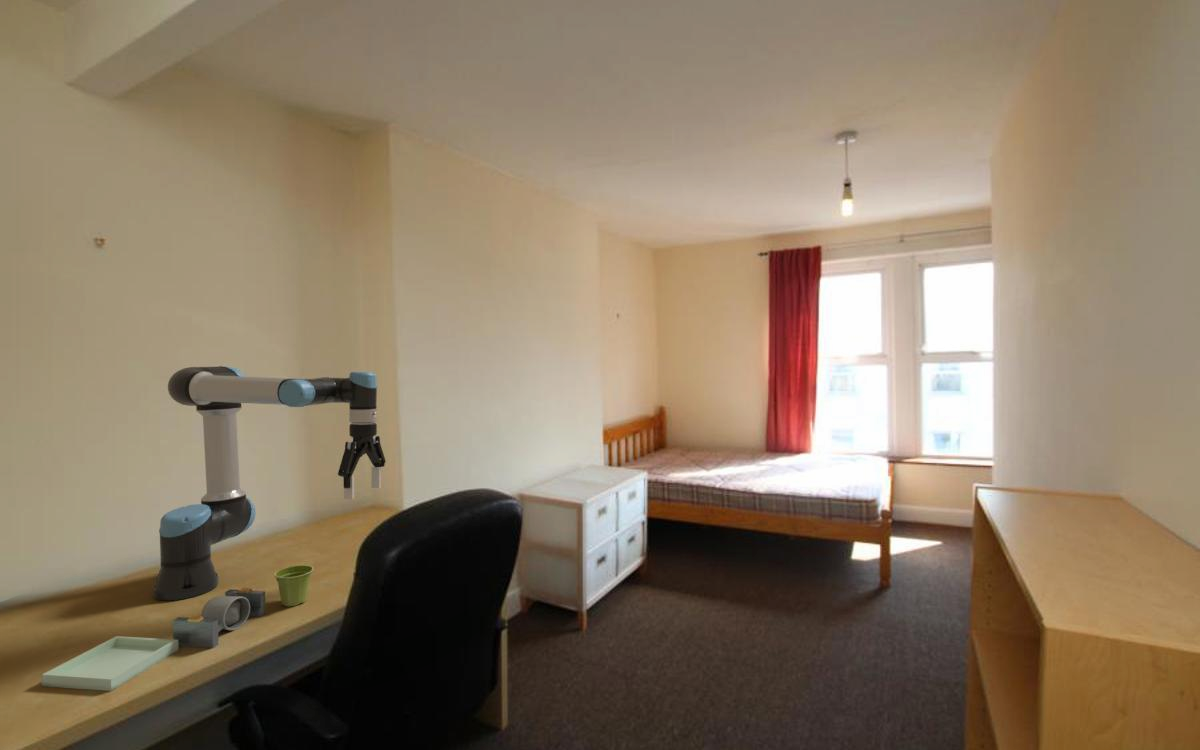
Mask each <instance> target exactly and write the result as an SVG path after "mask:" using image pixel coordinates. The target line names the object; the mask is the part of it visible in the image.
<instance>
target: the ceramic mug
mask: <svg viewBox="0 0 1200 750" xmlns="http://www.w3.org/2000/svg"><path fill="white" fill-rule="evenodd" d="M249 613H250V603H249V601H248V599H247V598H245V597H241V596H225V595H219V596H215V597H212V598H211V599H209V600H208V601H207V602H206V603H205V605H204V606H203V608H202V610H201V615H200V616H203V619H218V633H220V632H221V631H222V630H226V631H236V630H238V629H239V628H241V627H242V626H243V625H244V624H245V623H246V621H247V620H248V618H249V617H250V616H249Z"/></svg>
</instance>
